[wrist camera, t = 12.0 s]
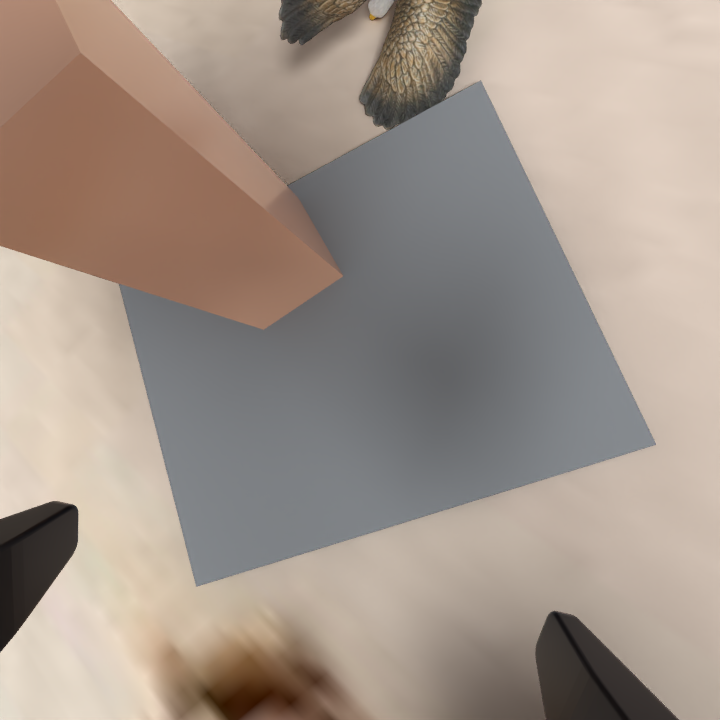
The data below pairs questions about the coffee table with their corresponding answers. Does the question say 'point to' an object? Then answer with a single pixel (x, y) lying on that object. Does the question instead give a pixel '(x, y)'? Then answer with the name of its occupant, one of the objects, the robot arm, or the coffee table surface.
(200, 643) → the coffee table surface
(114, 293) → the coffee table surface
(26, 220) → the block
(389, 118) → the grey brown animal figure
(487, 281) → the mat
